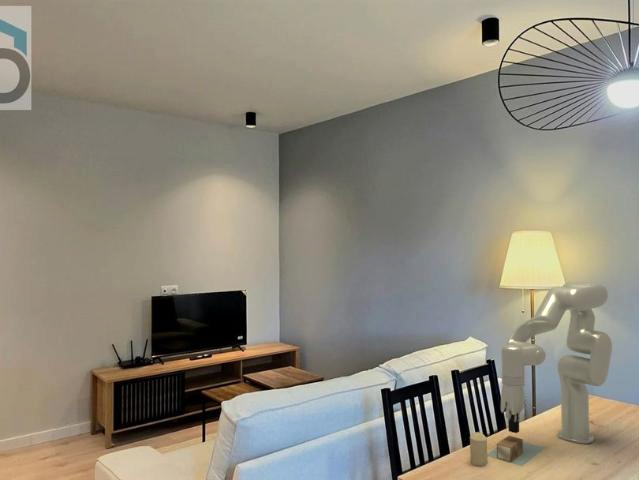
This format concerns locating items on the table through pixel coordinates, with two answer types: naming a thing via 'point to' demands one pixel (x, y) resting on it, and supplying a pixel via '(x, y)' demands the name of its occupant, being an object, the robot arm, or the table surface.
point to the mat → (527, 455)
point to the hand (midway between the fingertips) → (513, 431)
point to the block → (509, 448)
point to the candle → (478, 449)
